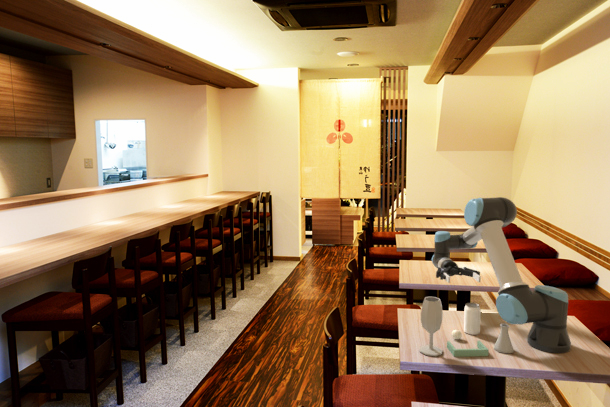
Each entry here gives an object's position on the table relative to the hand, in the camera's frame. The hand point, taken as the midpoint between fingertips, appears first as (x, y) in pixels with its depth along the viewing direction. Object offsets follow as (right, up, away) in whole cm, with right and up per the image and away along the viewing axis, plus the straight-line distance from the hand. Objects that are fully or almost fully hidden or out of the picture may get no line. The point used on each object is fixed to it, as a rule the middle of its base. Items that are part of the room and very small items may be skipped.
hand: (464, 279), depth 197 cm
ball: (-8, -20, -15) cm, 26 cm away
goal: (-8, -23, -25) cm, 35 cm away
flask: (+7, -23, -24) cm, 34 cm away
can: (+1, -21, -7) cm, 23 cm away
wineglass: (-22, -24, -26) cm, 41 cm away
